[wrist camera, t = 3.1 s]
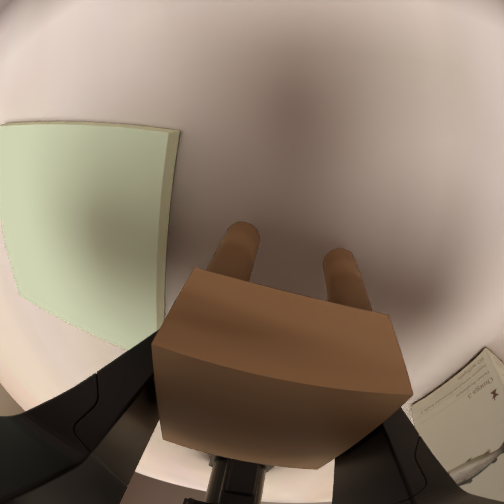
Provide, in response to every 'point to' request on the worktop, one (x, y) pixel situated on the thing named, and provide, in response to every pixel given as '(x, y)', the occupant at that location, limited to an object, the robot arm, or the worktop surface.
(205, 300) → the toy stool
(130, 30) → the worktop surface
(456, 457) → the supplement box
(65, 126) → the sage mat
